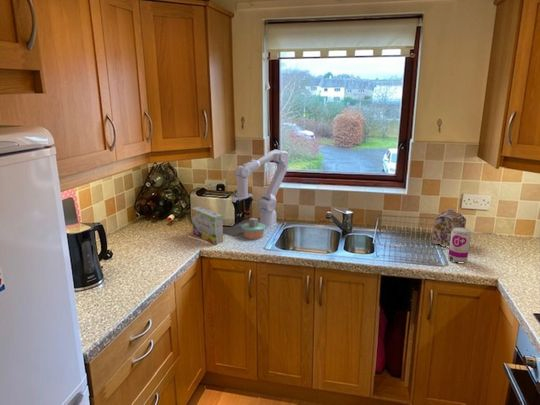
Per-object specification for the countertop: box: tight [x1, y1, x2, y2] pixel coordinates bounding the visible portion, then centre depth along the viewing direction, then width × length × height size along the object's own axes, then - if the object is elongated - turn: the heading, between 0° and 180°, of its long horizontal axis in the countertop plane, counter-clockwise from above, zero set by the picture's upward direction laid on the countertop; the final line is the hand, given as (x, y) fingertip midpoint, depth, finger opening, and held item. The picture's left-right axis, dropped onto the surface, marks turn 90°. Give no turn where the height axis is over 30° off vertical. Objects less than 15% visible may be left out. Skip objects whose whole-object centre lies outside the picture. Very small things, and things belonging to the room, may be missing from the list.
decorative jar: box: [431, 209, 467, 246], centre depth 211 cm, size 12×12×18 cm
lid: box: [240, 217, 267, 232], centre depth 219 cm, size 13×13×5 cm
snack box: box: [191, 206, 224, 246], centre depth 214 cm, size 21×6×15 cm, turn 42°
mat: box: [223, 224, 244, 238], centre depth 229 cm, size 16×15×1 cm
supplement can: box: [447, 227, 472, 263], centre depth 190 cm, size 8×8×15 cm
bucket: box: [243, 229, 265, 240], centre depth 220 cm, size 10×10×5 cm
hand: (242, 212), depth 227 cm, fingers open, 7 cm apart
